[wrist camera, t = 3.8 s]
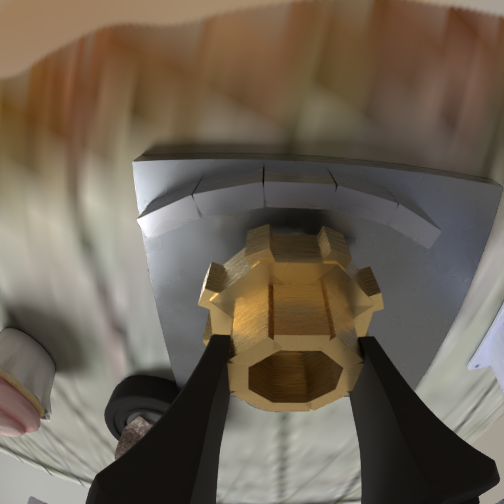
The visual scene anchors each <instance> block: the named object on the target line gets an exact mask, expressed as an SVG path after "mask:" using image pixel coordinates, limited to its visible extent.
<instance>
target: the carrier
mask: <svg viewBox="0 0 504 504" xmlns="http://www.w3.org/2000/svg"><path fill="white" fill-rule="evenodd" d="M132 166H133V174H134V182H135V189H136V197H137V204H138V210H139V217H138V218H137V222H138V223H139V225H140V226H141V229H142V235H143V241H144V247H145V252H146V257H147V263H148V268H149V273H150V278H151V283H152V288H153V292H154V297H155V301H156V306H157V310H158V315H159V319H160V323H161V327H162V331H163V335H164V339H165V343H166V347H167V351H168V355H169V359H170V362H171V366H172V370H173V373H174V377H175V380H176V384H177V387H178V390H179V392H180V391H181V390H182V388H183V387H184V385H185V384H186V382H187V381H188V379H189V378H190V376H191V374H192V373H193V371H194V369H195V368H196V366H197V364H198V362H199V360H200V359H201V357H202V355H203V353H204V351H205V349H206V345H205V344H204V342H203V337H204V332H205V327H206V322H207V317H208V313H210V309H207V308H205V307H202V306H199V305H198V302H199V298H200V294H201V291H202V287H203V283H204V279H205V276H206V274H207V271H208V269H209V267H210V264H211V262H215V263H217V264H220V265H224V264H225V263H226V262H227V261H229V260H230V259H231V258H232V257H233V256H235V255H236V254H237V253H238V252H240V251H241V250H242V249H243V248H244V247H246V239H247V231H249V230H252V229H255V228H258V227H261V226H264V225H267V224H270V226H271V229H272V231H273V233H274V234H299V235H318V234H319V232H320V230H321V229H322V227H323V226H325V227H327V228H330V229H332V230H334V231H336V232H339V233H341V234H343V236H344V239H345V241H346V244H347V246H348V249H349V251H350V254H351V257H352V259H353V260H352V262H353V263H354V264H355V265H356V267H357V268H358V269H362V268H365V267H369V266H370V267H371V269H372V272H373V274H374V276H375V279H376V281H377V283H378V286H379V288H380V290H381V293H382V299H383V305H384V309H382V310H379V311H375V312H373V314H372V317H371V320H370V323H369V326H368V329H367V330H368V333H369V336H374V337H375V338H376V339H377V341H378V342H379V344H380V345H381V347H382V348H383V350H384V351H385V353H386V354H387V356H388V357H389V358H390V360H391V361H392V363H393V364H394V366H395V367H396V368H397V370H398V371H399V372H400V374H401V375H402V376H403V378H404V379H405V380H406V382H407V383H408V384H409V386H410V387H411V388H412V390H413V391H414V390H415V389H416V387H417V385H418V384H419V382H420V381H421V379H422V377H423V376H424V374H425V372H426V371H427V369H428V367H429V366H430V364H431V362H432V360H433V359H434V357H435V355H436V353H437V352H438V350H439V348H440V346H441V344H442V342H443V341H444V339H445V337H446V335H447V333H448V331H449V329H450V327H451V325H452V323H453V321H454V319H455V317H456V315H457V313H458V311H459V309H460V306H461V304H462V302H463V300H464V298H465V296H466V293H467V291H468V289H469V286H470V284H471V282H472V279H473V277H474V274H475V272H476V269H477V267H478V264H479V262H480V259H481V257H482V254H483V251H484V248H485V246H486V243H487V240H488V237H489V234H490V231H491V228H492V225H493V222H494V219H495V215H496V212H497V209H498V205H499V202H500V198H501V194H502V191H503V186H501V185H500V184H498V183H497V182H496V181H494V180H491V179H486V178H481V177H476V176H471V175H465V174H460V173H454V172H448V171H442V170H436V169H429V168H423V167H416V166H408V165H401V164H393V163H384V162H375V161H366V160H355V159H344V158H332V157H318V156H301V155H280V154H243V153H201V154H165V155H144V156H139V157H138V158H136V159H135V160H134V161H133V162H132ZM230 396H233V397H237V396H235V395H233V394H230ZM344 397H350V396H349V394H348V395H346V396H344ZM241 400H242V399H241ZM247 403H248V402H247ZM248 404H249V405H251V406H253V407H255V406H254V405H252V404H250V403H248ZM255 408H257V407H255ZM257 409H259V408H257ZM260 410H261V409H260ZM264 411H267V409H265V410H264ZM270 412H281V411H270Z"/></svg>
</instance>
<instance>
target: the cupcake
mask: <svg viewBox="0 0 504 504" xmlns="http://www.w3.org/2000/svg"><path fill="white" fill-rule="evenodd" d="M54 376H55V366H54V362H53V360H52V358H51V357H50V355H49V354H48V353H47V352H46V350H45V349H44V348H43V347H42V346H41V345H40V344H39V343H38V342H36V341H35V340H34V339H33V338H31V337H30V336H29V335H27V334H25V333H23V332H22V331H19V330H17V329H14V328H6V329H3V330H2V331H1V332H0V433H1V434H3V435H6V436H10V437H16V436H22V435H23V434H24V433H31V432H35V431H37V430H38V428H39V427H40V419H42V420H45V421H48V422H50V415H51V414H52V413H51V403H50V393H51V389H52V385H53V380H54Z"/></svg>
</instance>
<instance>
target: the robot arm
mask: <svg viewBox="0 0 504 504" xmlns="http://www.w3.org/2000/svg"><path fill="white" fill-rule="evenodd" d="M230 340H231V335H221V334H213V335H212V336H211V337H210V340H209V342H208V344H207V347H206V349H205V351H204V353H203V355H202V357H201V359H200V360H199V362H198V364H197V366H196V368H195V369H194V371H193V373H192V374H191V376H190V378H189V379H188V381H187V382H186V384H185V385H184V387H183V388H182V390H181V391H180V393H179V394H178V396H177V397H176V398H175V400H174V401H173V402H172V404H171V405H170V406H169V408H168V409H167V410H166V411H165V413H164V414H163V415H162V416H161V417H160V419H159V420H158V421H157V422H156V423H155V424H154V425H153V426H152V427H151V428H150V430H149V431H148V432H147V433H146V434H145V435H144V436H143V437H142V438H141V439H140V440H139V441H138V442H136V443H135V444H134V445H133V446H132V447H131V448H130V449H129V450H128V451H126V452H125V453H124V454H123V455H122V456H121V457H119V458H118V459H117V460H116V461H114V462H113V463H111V464H110V465H109V466H107V467H106V468H105V469H103V470H102V471H101V472H99V473H98V474H97V475H96V476H95V478H94V480H93V482H92V485H91V487H90V489H89V493H88V496H87V500H86V504H216V491H217V478H218V465H219V454H220V447H221V441H222V436H223V430H224V425H225V420H226V415H227V410H228V405H229V399H230V394H231V391H229V379H228V366H227V362H228V356H229V348H230ZM358 340H359V344H360V348H361V352H362V356H363V360H364V361H363V363H364V365H363V367H362V369H361V372H360V374H359V377H358V379H357V381H356V384H355V386H354V388H353V390H352V391H349V393H350V394H349V396H350V401H351V406H352V411H353V416H354V421H355V426H356V431H357V436H358V441H359V448H360V459H361V483H362V497H361V504H479V503H480V502H479V497H478V496H480V495H481V494H483V493H485V492H486V491H488V490H490V489H491V488H493V487H494V486H496V485H497V484H498V483H499V481H500V477H499V474H498V470H497V467H496V463H495V461H494V460H493V459H491V458H489V457H488V456H486V455H484V454H483V453H481V452H480V451H478V450H476V449H475V448H473V447H472V446H471V445H469V444H468V443H467V442H465V441H464V440H463V439H461V438H460V437H459V436H458V435H456V434H455V433H454V432H453V431H452V430H451V429H449V428H448V427H447V426H446V425H445V424H444V423H443V422H442V421H441V420H439V419H438V418H437V417H436V416H435V415H434V414H433V412H432V411H431V410H430V409H429V408H428V407H427V406H426V405H425V404H424V403H423V402H422V400H421V399H420V398H419V397H418V396H417V394H416V393H415V392H414V391H413V390H412V388H411V387H410V386H409V384H408V383H407V382H406V380H405V379H404V378H403V376H402V375H401V374H400V372H399V371H398V370H397V368H396V367H395V366H394V364H393V363H392V361H391V360H390V358H389V357H388V356H387V354H386V353H385V351H384V350H383V348H382V347H381V345H380V344H379V342H378V341H377V339H376V338H375V337H374V336H364V337H358ZM490 366H491V368H492V370H493V372H494V374H495V376H496V378H497V380H498V382H499V384H500V386H501V389H502V391H503V393H504V303H503V305H502V306H501V308H500V310H499V312H498V314H497V316H496V318H495V320H494V322H493V323H492V325H491V327H490V329H489V330H488V332H487V334H486V336H485V337H484V339H483V341H482V342H481V344H480V346H479V347H478V349H477V351H476V352H475V354H474V355H473V357H472V359H471V360H470V362H469V363H468V365H467V367H468V370H475V369H480V368H485V367H490ZM28 504H47V503H44V502H42V501H40V500H38V499H36V498H34V497H32V496H31V497H29V501H28ZM496 504H504V499H502V500H501V501H499V502H498V503H496Z"/></svg>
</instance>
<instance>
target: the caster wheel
mask: <svg viewBox="0 0 504 504" xmlns="http://www.w3.org/2000/svg"><path fill="white" fill-rule="evenodd" d="M179 393H180V392H179V390H178V387H177V384H176V383H175V382H173V381H170V380H167V379H163V378H159V377H153V376H136V377H132V378H128V379H126V380H124V381H122V382H121V383H119V384H118V385H117V386H116V388H115V389H114V391H113V393H112V395H111V398H110V400H109V402H108V404H107V407H106V409H105V414H104V416H105V422H106V424H107V427H108V429H109V430H110V432H111V433H112V435H113V436H114V437H115V438H116V439H117V440H118V441H119V442H118V445H117V448H116V452H115V461H116V460H117V459H118V458H119V457H121V456H122V455H123V454H124V453H125V452H126V451H128V450H129V449H130V448H131V447H132V446H133V445H134V444H135V443H136V442H138V441H139V440H140V439H141V438H142V437H143V436H144V435H145V434H146V433H147V432H148V431H149V430H150V428H151V427H152V426H153V425H154V424H155V423H156V422H157V421H158V420H159V419H160V417H161V416H162V415H163V414H164V413H165V411H166V410H167V409H168V408H169V406H170V405H171V404H172V402H173V401H174V400H175V398H176V397H177V396H178V394H179Z"/></svg>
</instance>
